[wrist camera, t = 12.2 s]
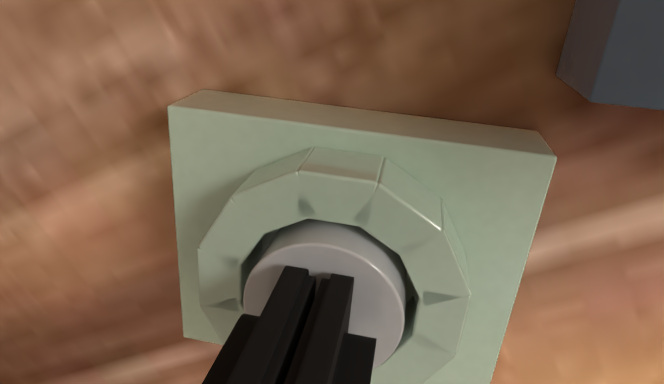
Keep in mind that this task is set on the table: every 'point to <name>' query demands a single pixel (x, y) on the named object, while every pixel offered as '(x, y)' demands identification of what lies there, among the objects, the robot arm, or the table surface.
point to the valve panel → (616, 52)
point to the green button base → (361, 214)
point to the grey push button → (344, 259)
